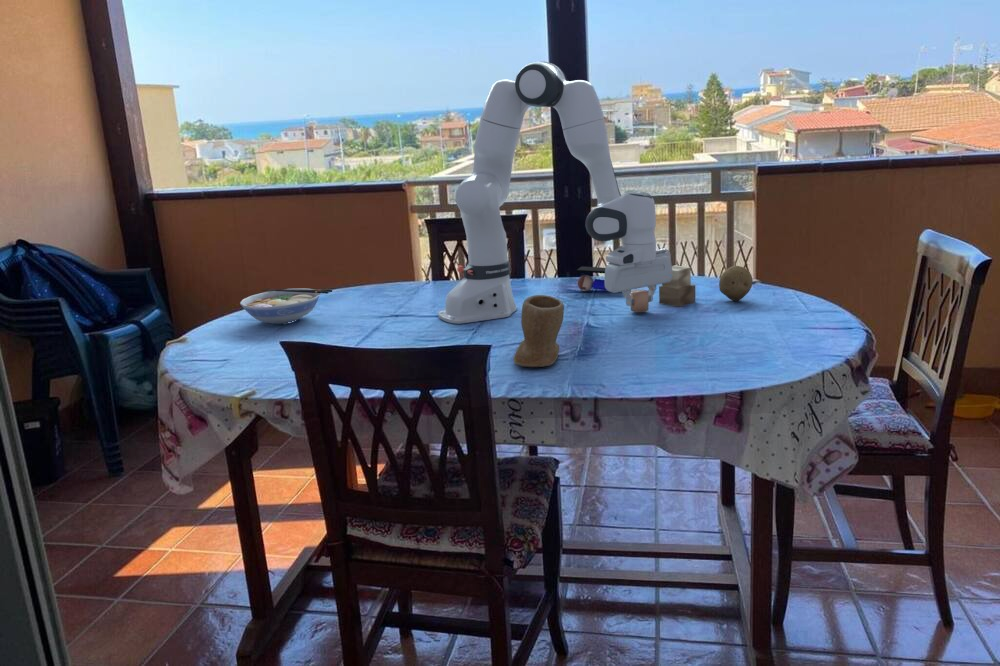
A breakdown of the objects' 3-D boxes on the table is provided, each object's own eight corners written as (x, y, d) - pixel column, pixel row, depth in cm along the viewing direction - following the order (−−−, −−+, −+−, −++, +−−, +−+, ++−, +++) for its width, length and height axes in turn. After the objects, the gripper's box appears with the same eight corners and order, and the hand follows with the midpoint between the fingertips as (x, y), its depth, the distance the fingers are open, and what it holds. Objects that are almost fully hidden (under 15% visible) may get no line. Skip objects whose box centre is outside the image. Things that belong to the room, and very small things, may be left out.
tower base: (678, 307, 220) (678, 289, 219) (659, 303, 226) (659, 286, 224) (695, 302, 224) (695, 284, 223) (675, 298, 230) (675, 281, 228)
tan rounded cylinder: (637, 312, 214) (637, 294, 213) (627, 309, 218) (626, 291, 217) (652, 309, 216) (652, 291, 215) (641, 306, 220) (641, 288, 219)
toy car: (628, 293, 246) (580, 287, 250) (630, 268, 243) (581, 263, 248) (624, 298, 239) (574, 292, 244) (626, 273, 237) (576, 267, 242)
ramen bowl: (223, 330, 231) (219, 302, 228) (276, 309, 250) (273, 284, 248) (292, 335, 220) (288, 306, 218) (342, 313, 240) (339, 286, 237)
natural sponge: (751, 305, 216) (752, 269, 213) (717, 305, 219) (717, 269, 216) (752, 297, 224) (753, 262, 222) (719, 297, 227) (719, 262, 224)
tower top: (677, 288, 220) (677, 270, 219) (662, 286, 224) (661, 268, 223) (690, 285, 223) (690, 267, 222) (675, 282, 227) (675, 265, 226)
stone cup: (562, 371, 175) (559, 304, 171) (509, 371, 178) (504, 305, 174) (571, 350, 190) (568, 288, 185) (521, 350, 192) (517, 289, 188)
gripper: (662, 246, 220) (662, 295, 224) (600, 256, 211) (601, 307, 215) (677, 249, 215) (677, 299, 218) (614, 259, 206) (615, 311, 210)
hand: (639, 303), depth 217 cm, fingers closed on tan rounded cylinder, 5 cm apart
